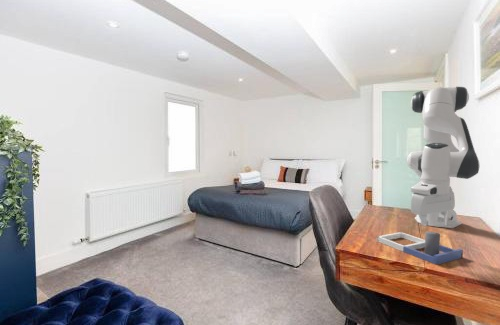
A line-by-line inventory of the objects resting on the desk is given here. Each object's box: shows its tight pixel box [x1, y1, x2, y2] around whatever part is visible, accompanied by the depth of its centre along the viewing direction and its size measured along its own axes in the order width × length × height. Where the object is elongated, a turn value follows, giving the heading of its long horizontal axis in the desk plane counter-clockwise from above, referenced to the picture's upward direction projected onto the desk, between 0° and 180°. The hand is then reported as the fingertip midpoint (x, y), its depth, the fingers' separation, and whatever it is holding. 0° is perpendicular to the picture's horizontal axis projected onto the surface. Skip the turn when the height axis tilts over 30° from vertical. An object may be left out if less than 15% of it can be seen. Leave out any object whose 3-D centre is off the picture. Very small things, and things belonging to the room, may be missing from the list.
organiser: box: [376, 231, 464, 265], centre depth 101 cm, size 15×24×3 cm, turn 23°
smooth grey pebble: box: [424, 230, 441, 257], centre depth 95 cm, size 4×4×8 cm
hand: (432, 223), depth 95 cm, fingers open, 8 cm apart
